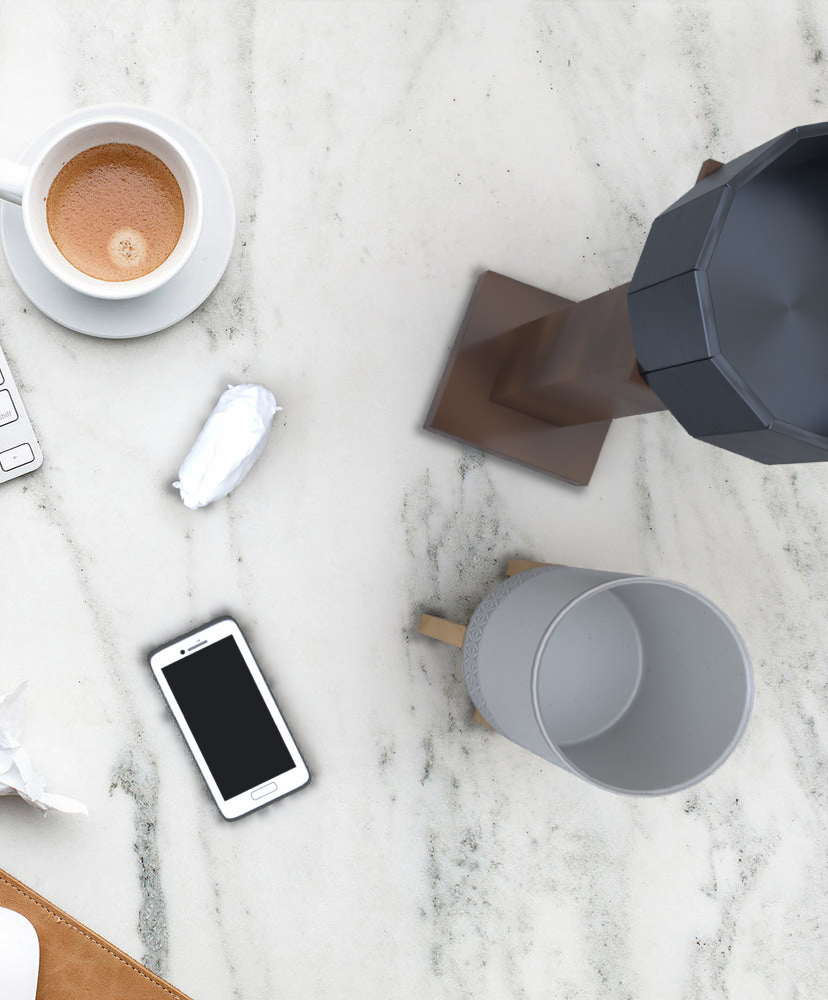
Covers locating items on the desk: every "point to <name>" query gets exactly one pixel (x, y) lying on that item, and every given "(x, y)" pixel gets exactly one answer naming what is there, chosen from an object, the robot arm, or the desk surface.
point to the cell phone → (229, 718)
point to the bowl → (743, 303)
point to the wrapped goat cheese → (227, 444)
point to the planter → (607, 675)
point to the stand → (542, 375)
